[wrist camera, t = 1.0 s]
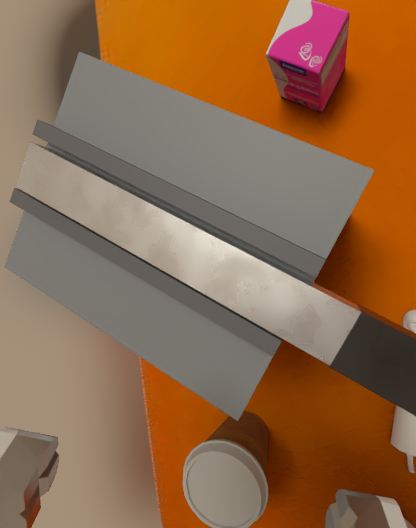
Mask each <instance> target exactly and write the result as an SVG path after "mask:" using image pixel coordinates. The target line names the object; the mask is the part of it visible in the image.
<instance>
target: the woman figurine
mask: <svg viewBox="0 0 416 528" xmlns="http://www.w3.org/2000/svg"><path fill="white" fill-rule="evenodd" d="M402 325H403V327H404V328H406V329H408V330H410V331H412V332H414V333H416V310H411V311H408V312H406V313H405V315H404V317H403V320H402ZM390 444H392V445H393V446H394V447H395V448H397V449H398V450H399V451H401V452H404V453H406V456H407V464H408V470H409V472H410V473H415V470H414V466H413V456H416V416H414V415H413V414H411V413H409V412H407V411H406V410H404V409H402V408H400V407H399V406H397V405H396V407H395V411H394V420H393V428H392V436H391V442H390Z"/></svg>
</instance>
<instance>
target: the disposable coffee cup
mask: <svg viewBox="0 0 416 528" xmlns="http://www.w3.org/2000/svg"><path fill="white" fill-rule="evenodd" d="M268 448H269V433H268V429H267V427H266V425H265V423H264V422H263V421H262V420H261V419H260V418H259V417H258V416H257V415H255V414H253V413H250V412H246V411H243V413H242V415H241V416H240V418H239V420H238V421H237V420H235V419H234V418H232V417H231V416H229V417H228V418H227V420H226V421H225V422H224V423H223V424H222V425H221V426H220V427H219V428H218V429H217V430H216V431H215V432H214V433H213V434H212V435H211V436H210V437H209V438H208V439H207V440H206V441H205V442H203V443H201V444H199V445H198V446H197V447H195V448H194V449H193V450H192V451H191V452H190V454H189V455H188V457H187V459H186V461H185V464H184V470H183V490H184V494H185V497H186V500H187V502H188V504H189V506H190V508H191V509H192V511H193V512H194V513H195V514H196V515H197V516H198V518H199V519H200V520H201V521H203V522H204V523H205V524H207V525H209V526H210V527H212V528H248V527H249V526H250V525H251V524H252V523H253V522H255V521H256V520H258V519H259V517H260V516H261V515H262V514H263V512H264V510H265V508H266V506H267V501H268V484H267V480H266V473H267V461H268Z"/></svg>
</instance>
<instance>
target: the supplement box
mask: <svg viewBox="0 0 416 528" xmlns="http://www.w3.org/2000/svg"><path fill="white" fill-rule="evenodd" d="M348 24H349V12H348V11H346V10H343V9H340V8H337V7H333V6H330V5H327V4H324V3H320V2H317V1H314V0H289V3H288V5H287V7H286V10H285V12H284V14H283V16H282V19H281V21H280V23H279V26H278V28H277V30H276V32H275V35H274V37H273V39H272V41H271V43H270V46H269V48H268V50H267V52H266V56H267V59H268V62H269V65H270V68H271V71H272V73H273V76H274V79H275V82H276V85H277V88H278V91H279V94H280V96H281V97H282V98H285V99H288V100H291V101H294V102H297V103H299V104H302V105H304V106H307V107H309V108H312V109H314V110H316V111H318V112H321V113H322V112H323V110H324V108H325V106H326V104H327V102H328V100H329V98H330V97H331V95H332V93H333V91H334V89H335V87H336V85H337V83H338V81H339V79H340V77H341V75H342V73H343V71H344V69H345V59H346V47H347V36H348Z"/></svg>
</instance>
